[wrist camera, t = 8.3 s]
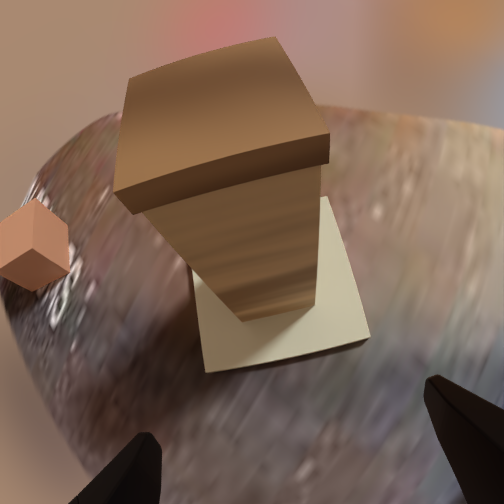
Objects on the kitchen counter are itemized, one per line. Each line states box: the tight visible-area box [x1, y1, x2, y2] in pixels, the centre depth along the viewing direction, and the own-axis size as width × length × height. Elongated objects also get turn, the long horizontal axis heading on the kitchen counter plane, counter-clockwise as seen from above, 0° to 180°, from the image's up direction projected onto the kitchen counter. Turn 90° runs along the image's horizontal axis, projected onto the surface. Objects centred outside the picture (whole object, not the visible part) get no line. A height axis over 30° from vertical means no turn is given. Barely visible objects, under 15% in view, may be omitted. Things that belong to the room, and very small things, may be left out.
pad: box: [192, 196, 370, 373], centre depth 20 cm, size 10×10×1 cm
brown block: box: [113, 37, 330, 322], centre depth 14 cm, size 5×5×14 cm
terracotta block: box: [0, 198, 70, 292], centre depth 23 cm, size 5×5×5 cm
